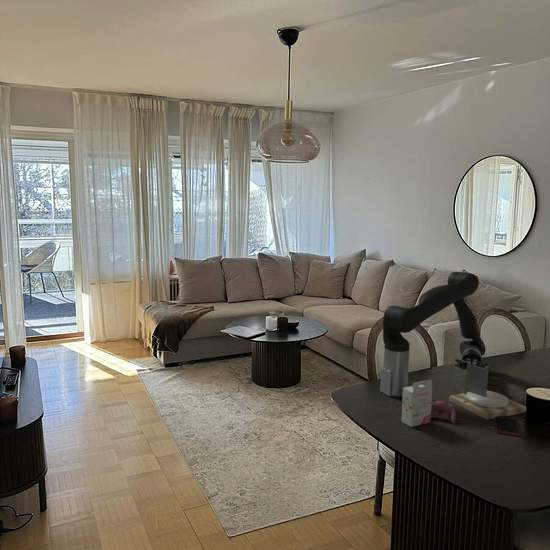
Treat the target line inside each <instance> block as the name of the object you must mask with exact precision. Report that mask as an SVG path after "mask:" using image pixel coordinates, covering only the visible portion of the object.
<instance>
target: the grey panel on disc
mask: <svg viewBox="0 0 550 550" xmlns="http://www.w3.org/2000/svg"><path fill="white" fill-rule="evenodd" d="M465 376H466V377H465V386H464V387H465V388H464V389H465V390H464V391H465V392H466V393H467V394H466V398H467V400H468V401H470V402H471V403H474V404H476V405H479V406H484V407H490V408H502V407H506V406H508V403H509V400H510V398H508V397H507V396H505V395H503V394H501V393H499V392H495V391H491V390H488V384H489V383H488V382H489V380H488V379H489V368H488V369H486V368H483V367H479V366H476V365H472V364H467V369H466V375H465ZM487 390H488V391H487Z"/></svg>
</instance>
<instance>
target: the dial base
mask: <svg viewBox="0 0 550 550" xmlns="http://www.w3.org/2000/svg"><path fill="white" fill-rule="evenodd" d="M487 391H489V389H487ZM466 394H467V392H463V393H459V394H452V395H451V394H449V399H448V401H449V403H450V402H451V404H452V403H453V405H454V404H455V405H457V406H458V407H461V408H463V409H465V410H467V411H469V412H470V413H472V414H475V415H477V416H479V417H481V418H482V419H484V420H487V421H488V420H494V417H497V416H505V417H510V416H514V415H519V414H524V412H525V411H526V412H527V406H525V405H523V404H521V403H520V402H516V401H514V400H512V399H509V403H508V406H506V407H502V408H490V407H484V406H479V405H476V404H474V403H471V402H470V401H468V400H467V398H466ZM526 412H525V413H526Z"/></svg>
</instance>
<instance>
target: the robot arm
mask: <svg viewBox="0 0 550 550" xmlns="http://www.w3.org/2000/svg"><path fill="white" fill-rule="evenodd" d="M479 285H480V280H479V278H478V276H477V275H476V274H474V273H473V272H472V273H471V272H465V271H464V272H463V271H453V272H451V273H450V274H449V275H448V277H447V284H444V285H443V284H442V285H438V286H435V287H432V288H430V289H428V290H427V291H424V292H423V293H422V294H421V295H420V297H419V299H418V303H417V304H416V305H415V306H412V307H403V306H398V305H389V306H388V307H387V308H386V309H384V310H385V311H384V313H383V318H382V340H383V343H384V349H383V351H384V352H383V365H382V367H381V368H380V384H379V385H380V386H379V391H380V393H382V392H383V394H384V395H386V396H388V397H396V398H397V397H399V398H400V397H403V388H405V387H408V384H409V383H408V381H409V380H408V379H409V365H410V363H409V362H410V347H411V344H410V341H409V340H407V339H406V338H405V337H404V336H403V335H402V333H404V334H405V333H406V334H408V333H410V332H411V331H413V330H414V329H416V328H417V327H418V326H419V325H421V324H422V323H423V322H425V321H426V320H427V319H429V318H430V317H432V316H434V315H436V314H437V313H439V312H441V311H443V310H444V309H445V308H447V307H449V306H451V305H452V304H453V306H454V308H455V310H456V313H457V317H458V322H459V327H460V333H461V336H462V338H464V339H467V340H464V341H461V342H460V344H459V351H460V355H461V358H460V359H458V358H456V359H455V360H454V366H455V367H457V368H459V369H461V370H463V371H465V370H466V371H467V364H472V365H476V366H479V367H483V368H486V369H489V366H490V365H489V364H490V363H488V362H483V360H482V359H483V358H482V356H484V355H485V353H486V351H487V350H486V349H487V348H486V345H485V343H484V340H483V339H482V337H481V335H480V332H479V327H478V321H477V318H476V315H475V313H474V312H473V311H472V309H471V308H470V306H469V305H468V303H467V302H466V300H465V299H464V298H467V297H469V296H472V295H473V294H474V293H475V292H476V291H477V290H478V288H479Z"/></svg>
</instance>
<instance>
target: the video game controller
mask: <svg viewBox="0 0 550 550" xmlns="http://www.w3.org/2000/svg"><path fill="white" fill-rule="evenodd" d="M439 411H443V412H442V413H441V417H442V419H443V420H448V419H449V417H450V421H451V424H455V423H456V419H457V412H456V407H455V406H454V404H452V403H450V402H447V401H443V400H432V403H431V417H433V418H434V419H435V418H439V415H440V412H439Z"/></svg>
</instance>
